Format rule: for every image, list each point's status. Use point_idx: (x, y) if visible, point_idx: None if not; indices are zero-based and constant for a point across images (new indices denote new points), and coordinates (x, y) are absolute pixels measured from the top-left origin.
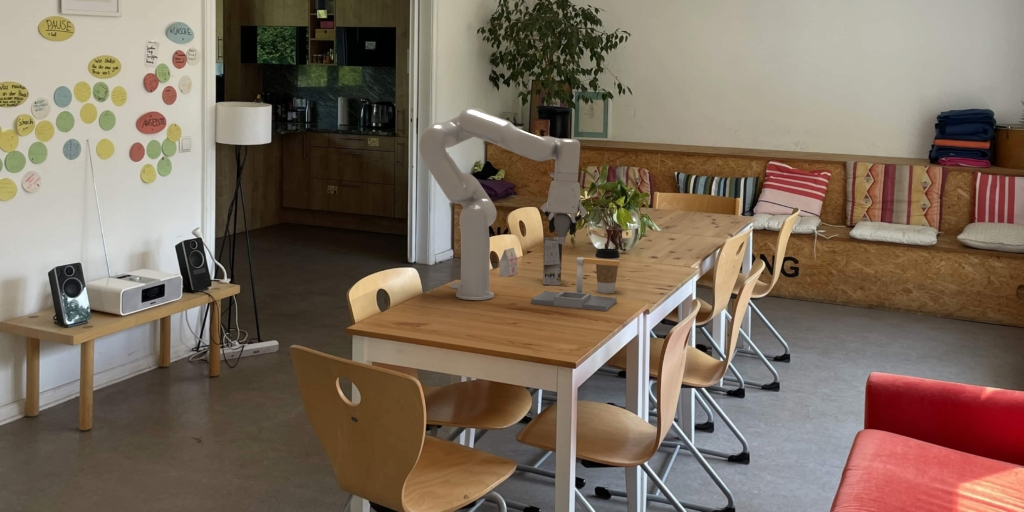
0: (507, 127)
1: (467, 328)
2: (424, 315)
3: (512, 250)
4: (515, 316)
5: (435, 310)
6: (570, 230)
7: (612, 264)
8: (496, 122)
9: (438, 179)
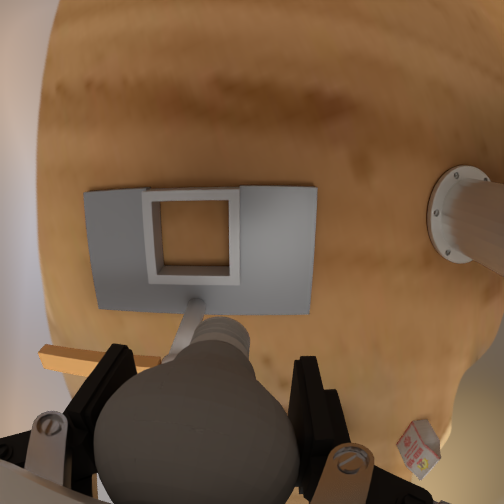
0: None
1: None
2: (469, 11)
3: (421, 473)
4: (300, 26)
5: (477, 52)
6: (109, 364)
7: (60, 349)
8: None
9: None
